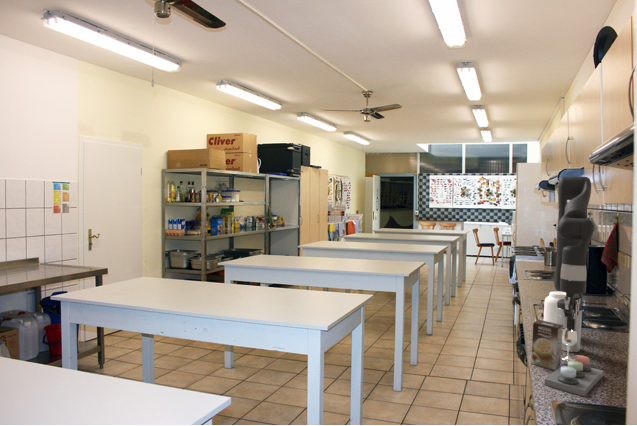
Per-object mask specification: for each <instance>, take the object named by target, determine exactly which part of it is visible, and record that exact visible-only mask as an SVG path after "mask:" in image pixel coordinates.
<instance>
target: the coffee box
mask: <svg viewBox="0 0 637 426" xmlns="http://www.w3.org/2000/svg"><path fill="white" fill-rule="evenodd" d="M562 334H563V325H560V324H556V323H552V322H547V321H544V319H543V320H542V319H537V320H536V321H534V322H533V323H532V340H531V356H530V357H531V360H530V364H533V365H537V366H539V367H542V368H545V369H549V370H553V371H555V370H557V369H558V368H559V367H560V366H562V363H561V362H562V359H561V358H562V351H563V350H562Z"/></svg>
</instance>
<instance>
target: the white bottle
mask: <svg viewBox="0 0 637 426" xmlns="http://www.w3.org/2000/svg"><path fill="white" fill-rule="evenodd" d="M548 294H549V295H547V296H546V297H545V299H544V305H543V321H547V322H552V323H556V320H557V302H558V300H560V299H564V298H565V297H566V292H561V291H557V290H554V291H550V292H549V293H548Z"/></svg>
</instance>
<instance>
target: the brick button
mask: <svg viewBox="0 0 637 426" xmlns="http://www.w3.org/2000/svg"><path fill="white" fill-rule="evenodd" d="M573 359H574V361H578V362H581V363H583V365H587V366H589V365H590V358H589V357H588V356H585V355H583V354H582V355H581V354H580V355H579V354H576V355H574V358H573Z"/></svg>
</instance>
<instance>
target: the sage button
mask: <svg viewBox="0 0 637 426" xmlns="http://www.w3.org/2000/svg"><path fill="white" fill-rule="evenodd" d="M567 362H568V367H572V368H574V369H576V371H583V363H581V362H578V361H567Z"/></svg>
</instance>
